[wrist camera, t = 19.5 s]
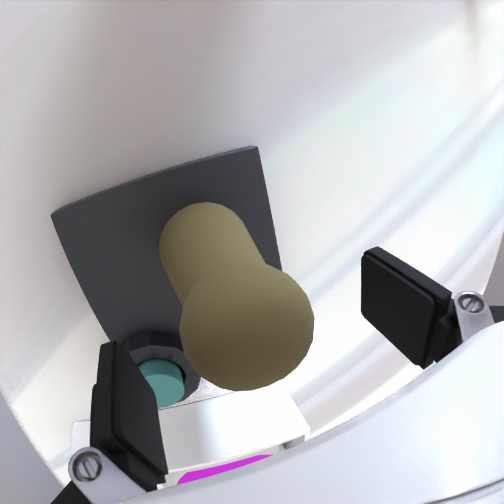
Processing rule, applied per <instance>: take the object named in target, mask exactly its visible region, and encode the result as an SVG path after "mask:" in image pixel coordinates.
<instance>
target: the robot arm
mask: <svg viewBox="0 0 504 504" xmlns="http://www.w3.org/2000/svg"><path fill="white" fill-rule="evenodd" d="M451 295H452V292H451V291H449V290H448V289H446V288H445V287H443V286H442V285H440V284H438V283H437V282H435V281H434V280H432V279H431V278H429V277H428V276H426V275H424V274H423V273H421V272H420V271H418V270H416V269H415V268H413V267H412V266H410V265H408V264H407V263H405V262H403V261H402V260H400V259H398V258H397V257H395V256H394V255H392V254H390V253H388V252H387V251H385V250H383V249H382V248H380V247H374V248H372V249H369V250H367V251H365V252H364V255H363V256H362V258H361V312H362V315H363V316H364V318H365V319H366V320H368V321H369V322H370V323H371V324H372V325H373V326H374V327H375V328H376V329H377V330H378V331H379V332H380V333H382V334H383V335H384V336H385V337H386V338H387V339H388V340H389V341H390V342H391V343H392V344H393V345H394V346H395V347H396V348H397V349H399V350H400V351H401V352H402V353H403V354H404V355H405V356H406V357H407V358H408V359H409V360H410V361H411V362H412V363H413V364H415V365H419V366H420V367H421V368H422V369H423V370H424V369H425V368H427V367H428V366H429V365H431V364H432V363H433V361H435V362H436V364H435V365H434V366H432V367H431V368H430V369H428V370H427V371H426V372H424V373H423V374H422V375H420V376H419V377H417V378H416V379H414V380H413V381H412V382H410V383H409V384H407V385H406V386H404V387H403V388H401V389H400V390H398V391H397V392H395V393H394V394H392V395H390V396H389V397H387V398H386V399H384V400H382V401H381V402H379V403H377V404H376V405H374V406H372V407H371V408H369V409H367V410H366V411H364V412H362V413H360V414H359V415H357V416H355V417H353V418H351V419H350V420H348V421H346V422H344V423H342V424H340V425H338V426H336V427H334V428H332V429H330V430H328V431H326V432H324V433H322V434H320V435H318V436H316V437H314V438H312V439H310V440H307V441H305V442H303V443H301V444H298V445H296V446H294V447H292V448H289V449H287V450H284V451H282V452H279V453H277V454H274V455H272V456H269V457H267V458H264V459H261V460H259V461H256V462H253V463H250V464H247V465H244V466H241V467H238V468H235V469H232V470H229V471H226V472H222V473H219V474H216V475H213V476H209V477H206V478H202V479H198V480H195V481H191V482H187V483H183V484H178V485H174V486H171V487H167V488H163V489H159V490H158V488H157V485H158V484H163V483H166V479H165V475H168V466H167V461H166V456H165V451H164V445H163V440H162V434H161V428H160V421H159V414H158V407H157V400H156V395H155V393H154V390H153V389H152V387H151V386H150V384H149V383H148V382H147V380H146V379H145V377H144V376H143V374H142V373H141V371H140V369H139V368H138V366H137V365H136V363H135V362H134V360H133V359H132V357H131V355H130V354H129V352H128V350H127V349H126V347H125V346H124V344H123V343H118V342H117V341H111V342H108V343H105V344H102V345H101V347H100V354H99V362H98V372H97V383H96V384H95V385H94V386H93V389H92V401H91V417H90V447H84V448H81V449H79V450H78V451H76V452H75V453H74V454H73V456H72V457H71V459H70V461H69V465H68V472H69V476H70V478H71V479H72V480H71V481H70V482H69V483H68V485H67V486H66V487H65V488H64V489H63V490H62V491H61V493H60V494H59V495H58V496H57V497H56V498H55V500H54V501H53V502H52V503H51V504H504V306H489V305H488V302H487V301H486V299H485V298H484V297H483V296H482V295H480V294H478V293H476V292H473V291H463V292H460V293H458V294H457V295H456V296H455V299H454V300H453V299H452V298H451Z"/></svg>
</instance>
